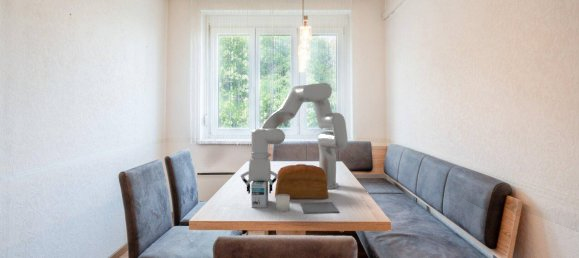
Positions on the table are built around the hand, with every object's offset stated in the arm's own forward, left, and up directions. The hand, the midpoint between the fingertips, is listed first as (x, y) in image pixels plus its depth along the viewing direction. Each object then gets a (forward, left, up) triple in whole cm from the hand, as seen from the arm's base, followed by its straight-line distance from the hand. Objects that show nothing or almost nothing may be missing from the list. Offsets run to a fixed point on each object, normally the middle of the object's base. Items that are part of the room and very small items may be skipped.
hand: (259, 192), depth 126 cm
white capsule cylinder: (+8, +10, -5) cm, 14 cm away
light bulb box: (0, 0, -6) cm, 6 cm away
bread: (-12, +21, -6) cm, 25 cm away
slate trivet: (+8, +26, -5) cm, 28 cm away
